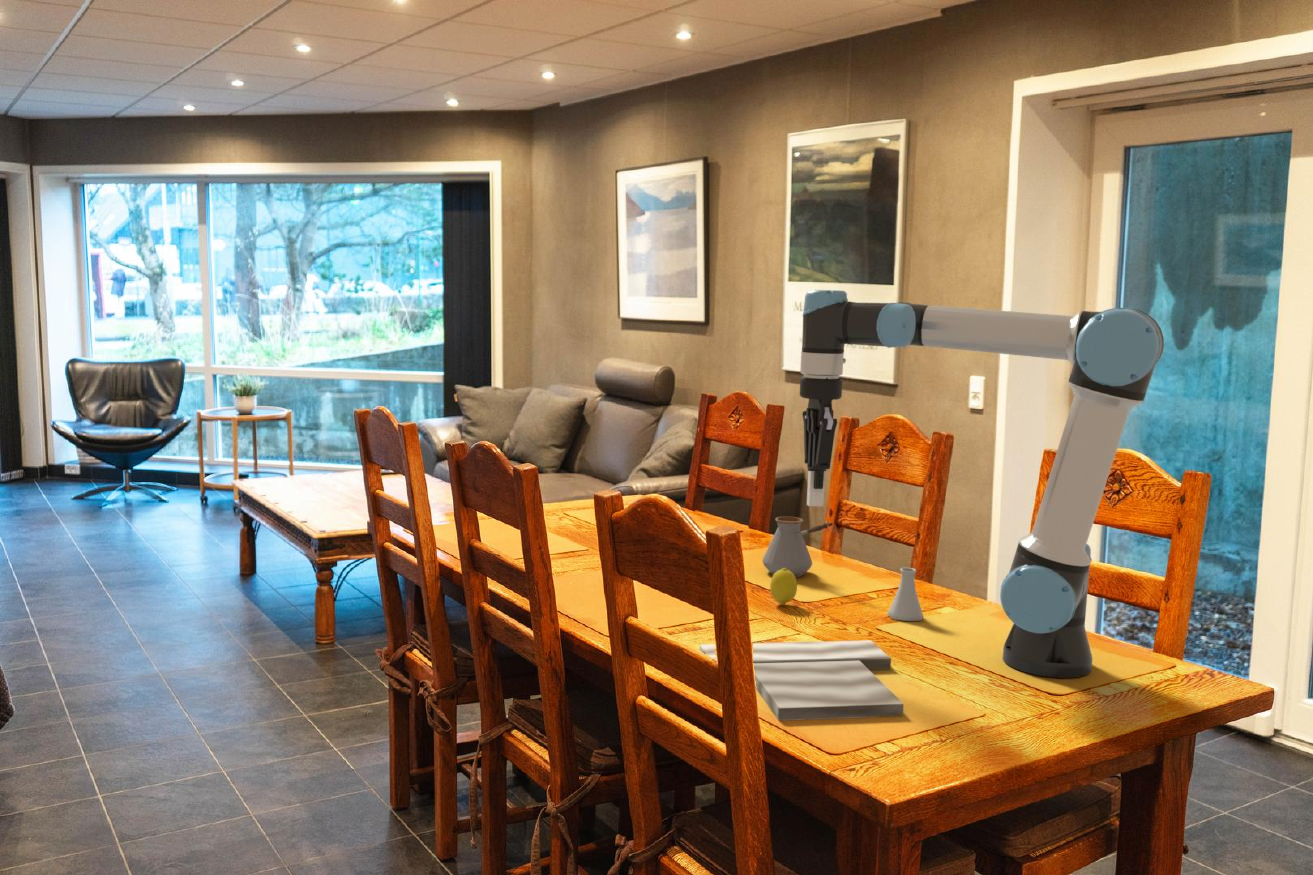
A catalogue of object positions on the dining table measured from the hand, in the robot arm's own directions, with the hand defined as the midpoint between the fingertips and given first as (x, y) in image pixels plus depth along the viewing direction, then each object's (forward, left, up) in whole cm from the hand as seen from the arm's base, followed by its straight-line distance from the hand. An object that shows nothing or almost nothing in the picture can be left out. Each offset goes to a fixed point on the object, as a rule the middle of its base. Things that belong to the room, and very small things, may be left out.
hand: (815, 505), depth 202 cm
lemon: (+21, -15, -27) cm, 37 cm away
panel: (-19, +17, -26) cm, 37 cm away
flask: (+1, -30, -27) cm, 40 cm away
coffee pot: (+34, -34, -27) cm, 55 cm away
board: (-5, +9, -26) cm, 28 cm away
